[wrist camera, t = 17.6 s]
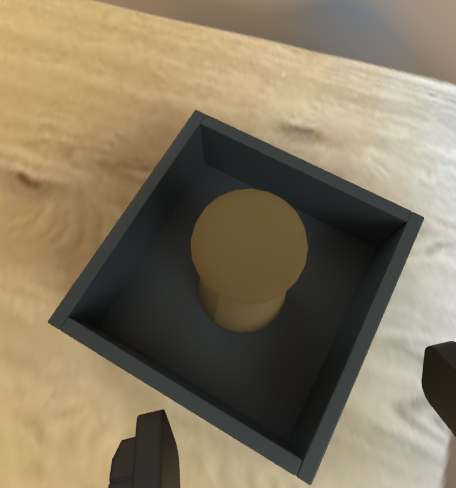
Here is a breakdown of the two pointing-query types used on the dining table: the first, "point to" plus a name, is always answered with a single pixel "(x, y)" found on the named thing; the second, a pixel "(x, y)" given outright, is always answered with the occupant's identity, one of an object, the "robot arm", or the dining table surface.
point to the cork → (247, 258)
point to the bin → (250, 343)
